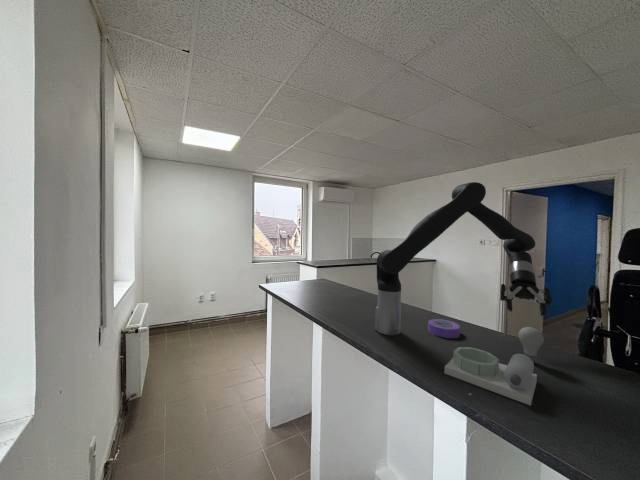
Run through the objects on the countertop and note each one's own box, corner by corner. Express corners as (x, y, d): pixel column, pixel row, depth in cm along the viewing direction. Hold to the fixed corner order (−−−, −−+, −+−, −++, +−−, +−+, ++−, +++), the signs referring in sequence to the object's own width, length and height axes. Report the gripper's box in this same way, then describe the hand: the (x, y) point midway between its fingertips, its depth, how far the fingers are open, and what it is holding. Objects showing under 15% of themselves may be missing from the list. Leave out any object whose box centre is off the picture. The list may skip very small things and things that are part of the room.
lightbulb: (537, 359, 81) (538, 325, 81) (547, 368, 75) (548, 332, 75) (514, 356, 83) (515, 323, 83) (522, 365, 77) (523, 329, 77)
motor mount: (444, 373, 72) (444, 349, 72) (459, 357, 82) (460, 335, 82) (530, 405, 58) (531, 375, 58) (536, 381, 68) (537, 356, 68)
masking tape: (464, 339, 97) (464, 329, 97) (432, 337, 98) (432, 327, 98) (453, 328, 108) (453, 320, 108) (424, 326, 110) (425, 318, 110)
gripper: (500, 267, 98) (501, 303, 88) (548, 270, 91) (556, 310, 81) (498, 279, 103) (500, 314, 93) (544, 283, 95) (551, 322, 86)
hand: (526, 312), depth 87 cm, fingers open, 8 cm apart
